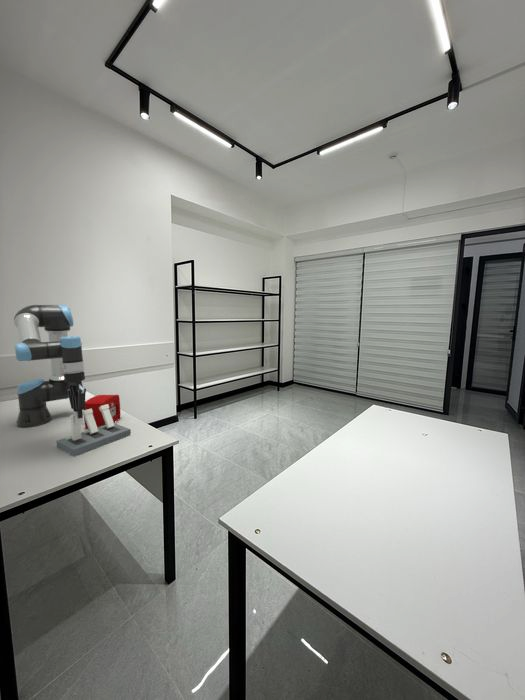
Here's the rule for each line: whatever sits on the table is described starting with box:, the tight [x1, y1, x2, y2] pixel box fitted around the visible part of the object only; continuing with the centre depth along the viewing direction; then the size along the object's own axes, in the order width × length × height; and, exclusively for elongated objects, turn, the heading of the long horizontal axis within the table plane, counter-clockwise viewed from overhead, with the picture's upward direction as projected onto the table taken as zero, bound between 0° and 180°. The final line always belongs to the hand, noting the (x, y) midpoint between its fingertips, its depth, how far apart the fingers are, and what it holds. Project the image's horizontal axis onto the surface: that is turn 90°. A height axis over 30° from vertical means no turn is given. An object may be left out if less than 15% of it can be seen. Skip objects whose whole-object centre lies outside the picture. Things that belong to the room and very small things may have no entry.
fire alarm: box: [82, 394, 121, 430], centre depth 157 cm, size 16×11×15 cm
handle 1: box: [82, 408, 98, 434], centre depth 138 cm, size 2×4×12 cm
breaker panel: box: [55, 422, 132, 457], centre depth 137 cm, size 16×26×3 cm, turn 147°
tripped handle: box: [69, 413, 82, 441], centre depth 129 cm, size 2×4×12 cm, turn 147°
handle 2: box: [99, 404, 115, 429], centre depth 144 cm, size 2×4×12 cm
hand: (79, 425), depth 127 cm, fingers closed
